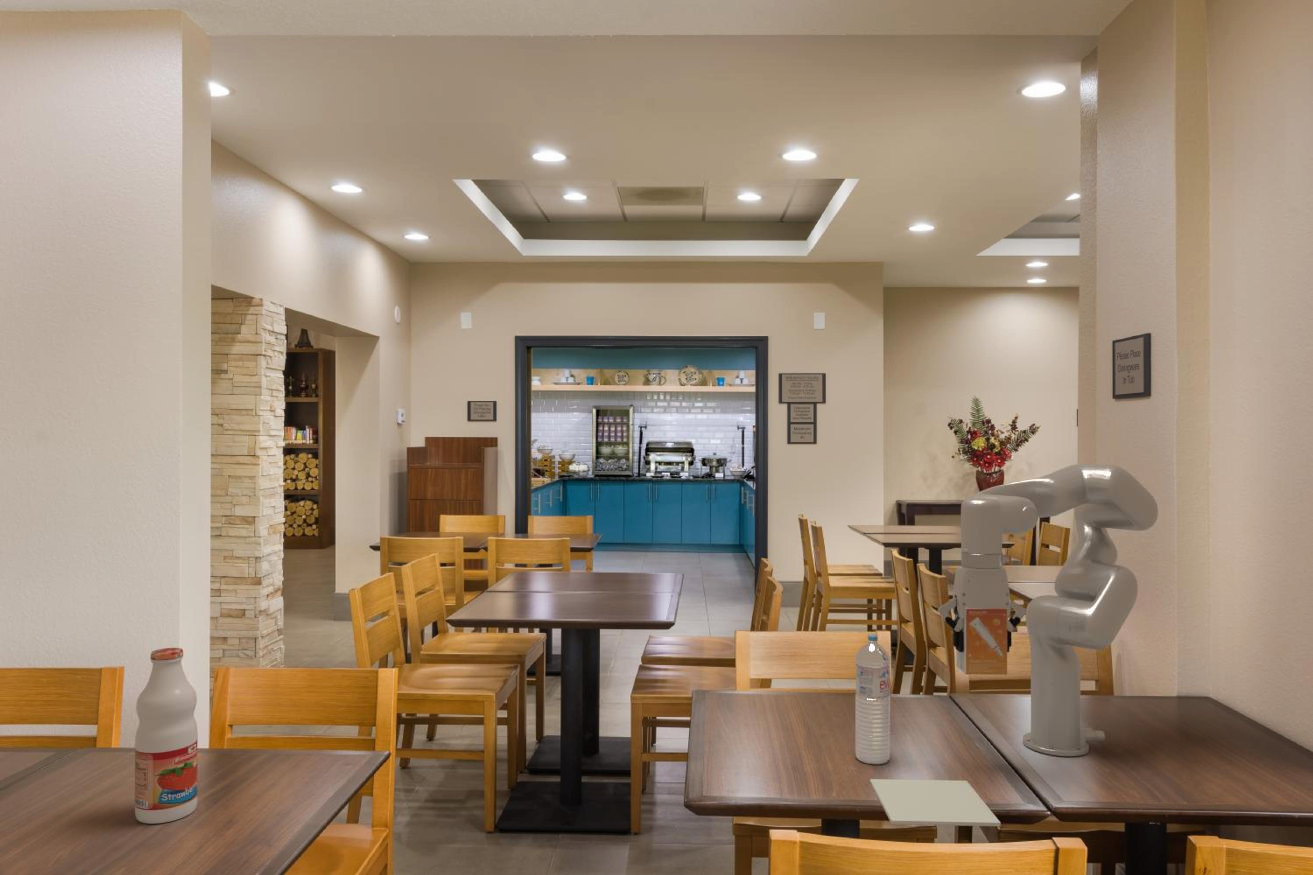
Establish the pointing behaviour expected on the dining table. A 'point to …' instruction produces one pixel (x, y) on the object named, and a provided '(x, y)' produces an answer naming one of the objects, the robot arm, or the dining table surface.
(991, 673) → the small box
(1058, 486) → the robot arm
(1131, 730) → the dining table surface
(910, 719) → the dining table surface
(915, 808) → the mat
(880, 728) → the water bottle
